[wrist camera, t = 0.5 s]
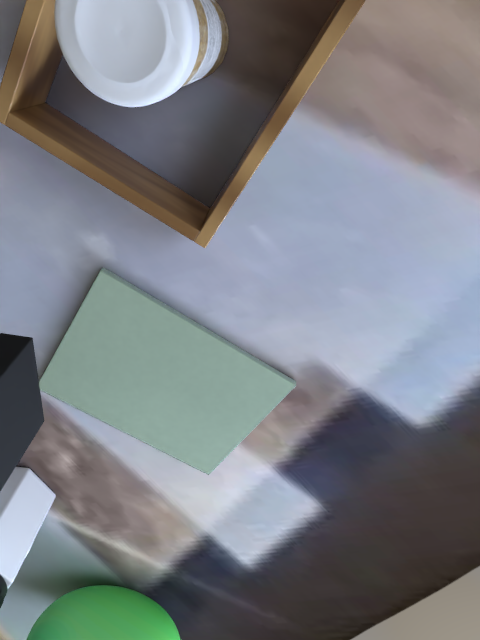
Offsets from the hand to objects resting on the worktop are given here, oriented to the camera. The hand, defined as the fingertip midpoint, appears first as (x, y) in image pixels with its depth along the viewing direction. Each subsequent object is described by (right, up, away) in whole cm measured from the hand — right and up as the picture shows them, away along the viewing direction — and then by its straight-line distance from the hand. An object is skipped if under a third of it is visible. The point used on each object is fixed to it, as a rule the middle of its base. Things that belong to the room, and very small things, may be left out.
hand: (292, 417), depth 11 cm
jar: (-25, -16, +37) cm, 48 cm away
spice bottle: (-4, +19, +15) cm, 24 cm away
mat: (-8, -3, +28) cm, 29 cm away
